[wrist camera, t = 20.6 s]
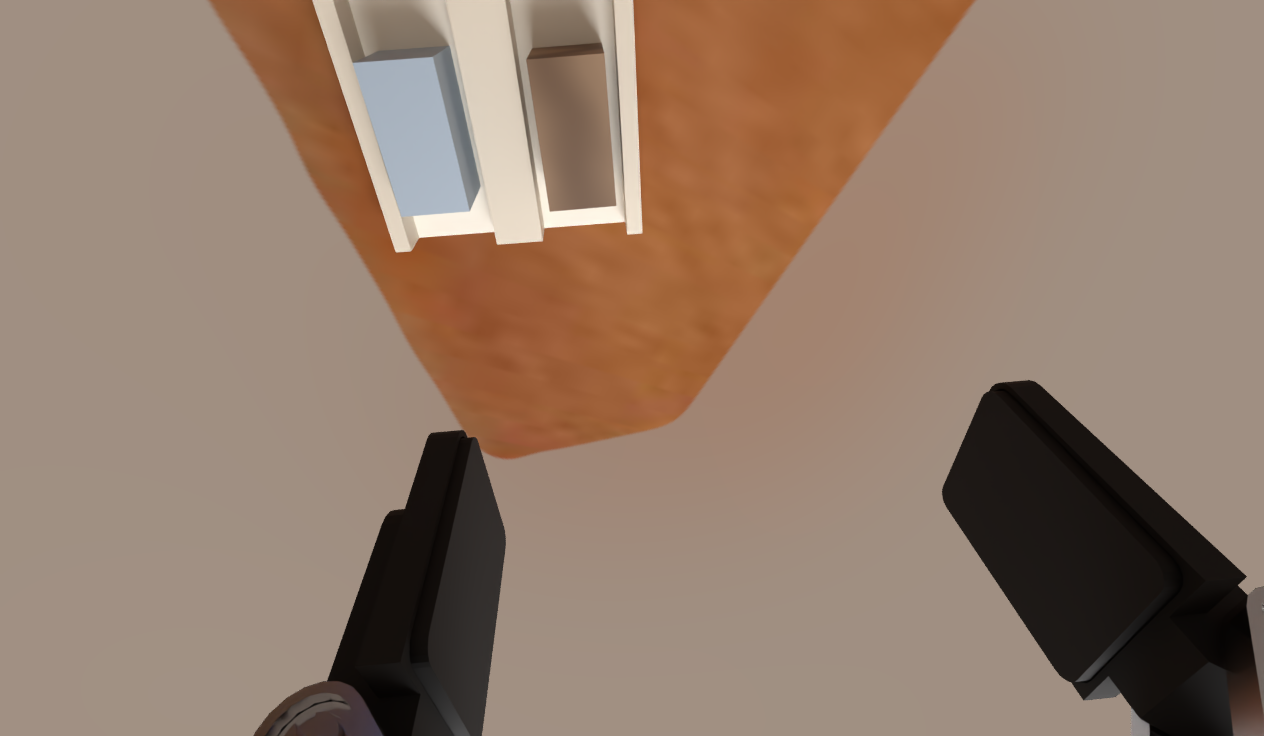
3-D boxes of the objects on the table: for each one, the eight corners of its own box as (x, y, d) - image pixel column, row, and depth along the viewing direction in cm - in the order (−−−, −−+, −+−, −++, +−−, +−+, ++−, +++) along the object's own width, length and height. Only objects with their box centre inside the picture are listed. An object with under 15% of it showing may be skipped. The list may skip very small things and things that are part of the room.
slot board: (628, -28, 30) (632, -26, 28) (638, 216, 39) (642, 233, 36) (331, -9, 30) (310, -6, 28) (407, 234, 38) (395, 252, 36)
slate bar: (449, 45, 31) (432, 57, 28) (480, 186, 36) (469, 211, 32) (378, 51, 31) (352, 63, 27) (419, 191, 36) (401, 216, 32)
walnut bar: (601, 42, 32) (604, 53, 28) (612, 181, 36) (616, 206, 33) (532, 48, 32) (526, 59, 28) (552, 186, 36) (549, 211, 33)
